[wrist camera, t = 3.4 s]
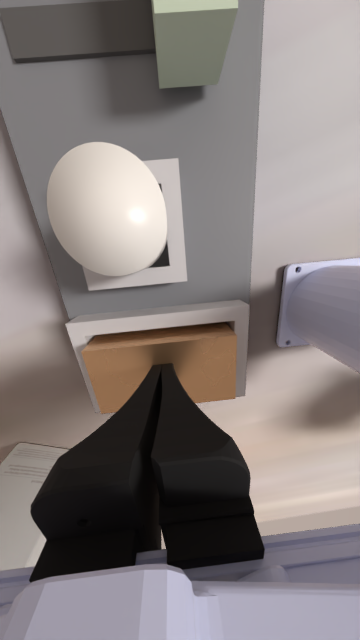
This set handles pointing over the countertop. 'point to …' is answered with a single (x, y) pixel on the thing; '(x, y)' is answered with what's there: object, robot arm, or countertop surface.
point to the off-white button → (107, 209)
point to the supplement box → (22, 503)
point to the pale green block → (191, 40)
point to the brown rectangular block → (163, 362)
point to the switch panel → (150, 147)
